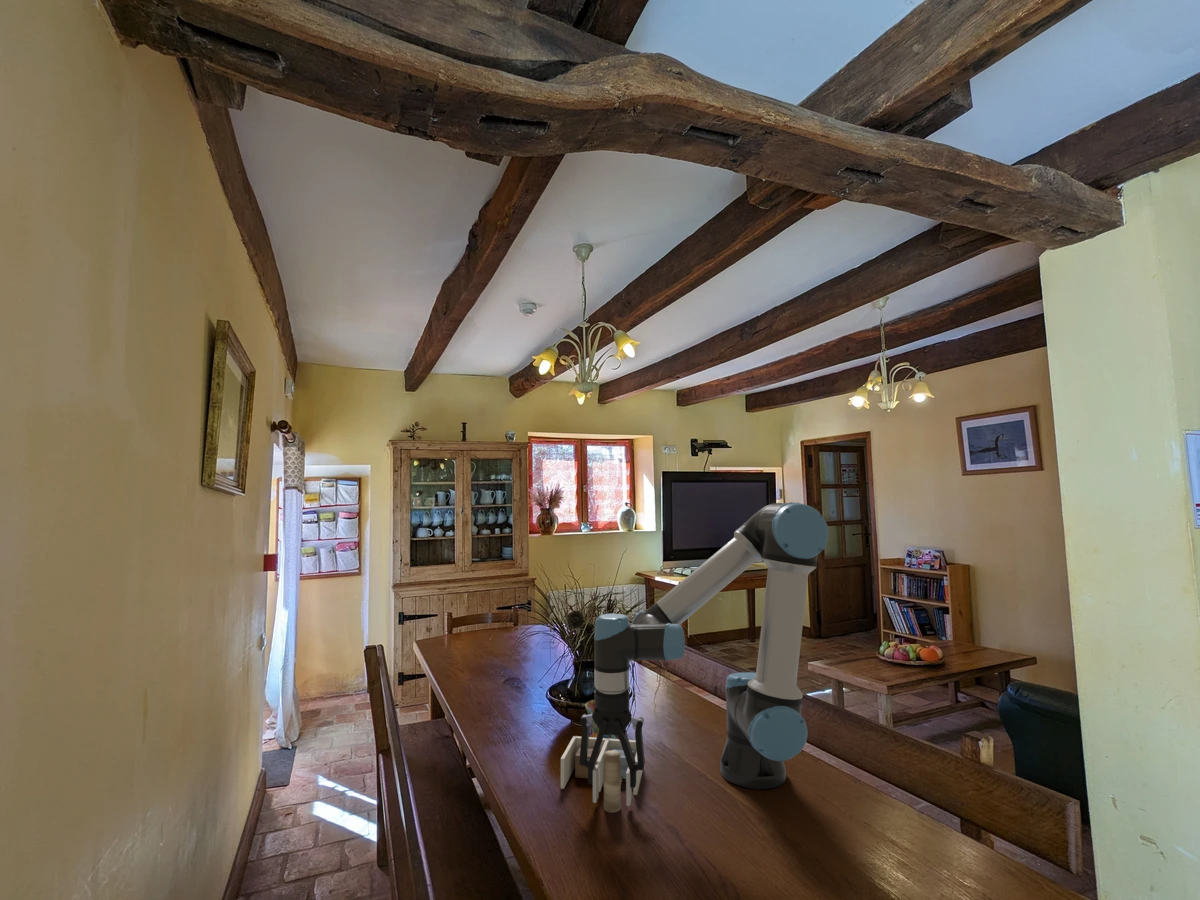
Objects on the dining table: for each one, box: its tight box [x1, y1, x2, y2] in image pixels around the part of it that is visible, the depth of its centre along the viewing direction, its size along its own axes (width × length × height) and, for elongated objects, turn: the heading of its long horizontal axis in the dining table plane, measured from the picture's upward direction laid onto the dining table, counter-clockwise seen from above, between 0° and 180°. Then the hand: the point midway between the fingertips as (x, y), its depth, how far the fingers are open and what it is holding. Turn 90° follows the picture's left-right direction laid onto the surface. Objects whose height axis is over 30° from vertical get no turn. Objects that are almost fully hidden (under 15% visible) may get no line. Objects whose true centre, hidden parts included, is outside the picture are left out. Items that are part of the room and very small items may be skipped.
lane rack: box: [560, 735, 644, 796], centre depth 136 cm, size 13×17×6 cm
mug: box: [584, 699, 618, 739], centre depth 155 cm, size 12×9×11 cm
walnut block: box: [574, 747, 600, 779], centre depth 139 cm, size 5×5×5 cm
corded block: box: [603, 748, 634, 814], centre depth 131 cm, size 20×5×11 cm, turn 170°
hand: (612, 800), depth 123 cm, fingers open, 6 cm apart
